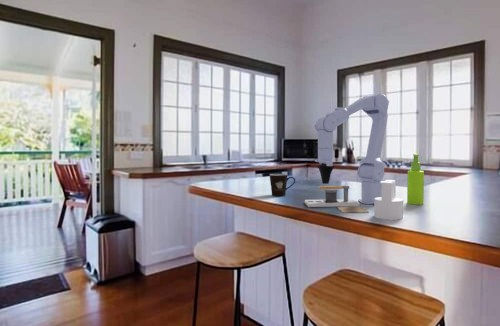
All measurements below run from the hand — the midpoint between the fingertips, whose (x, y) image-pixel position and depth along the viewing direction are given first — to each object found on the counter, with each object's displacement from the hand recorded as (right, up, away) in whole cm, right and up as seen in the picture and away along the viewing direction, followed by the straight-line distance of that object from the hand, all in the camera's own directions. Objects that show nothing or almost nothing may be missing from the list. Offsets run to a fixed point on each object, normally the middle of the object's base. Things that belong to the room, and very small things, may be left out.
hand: (325, 183), depth 130 cm
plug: (+4, -9, +7) cm, 12 cm away
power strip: (+4, -9, +7) cm, 12 cm away
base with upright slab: (+18, -10, -17) cm, 26 cm away
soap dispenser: (+38, -9, +6) cm, 39 cm away
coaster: (+9, -10, -6) cm, 14 cm away
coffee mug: (-14, -8, +31) cm, 35 cm away
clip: (+5, -2, +6) cm, 8 cm away
